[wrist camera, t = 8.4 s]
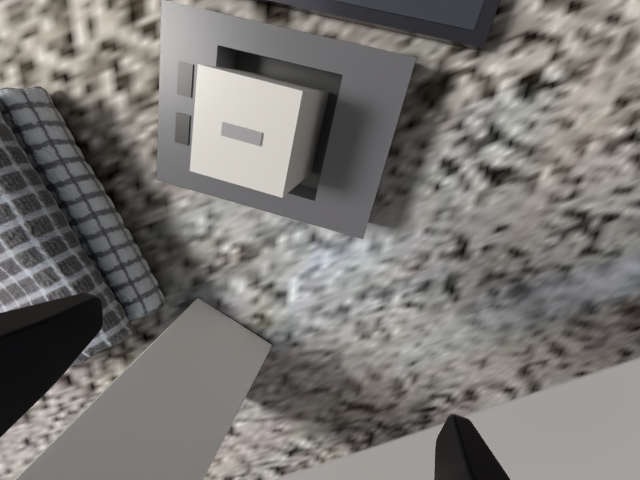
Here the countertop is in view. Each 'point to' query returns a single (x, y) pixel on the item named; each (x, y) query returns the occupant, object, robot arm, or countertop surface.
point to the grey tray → (297, 67)
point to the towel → (63, 224)
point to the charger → (255, 129)
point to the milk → (162, 406)
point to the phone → (410, 17)
